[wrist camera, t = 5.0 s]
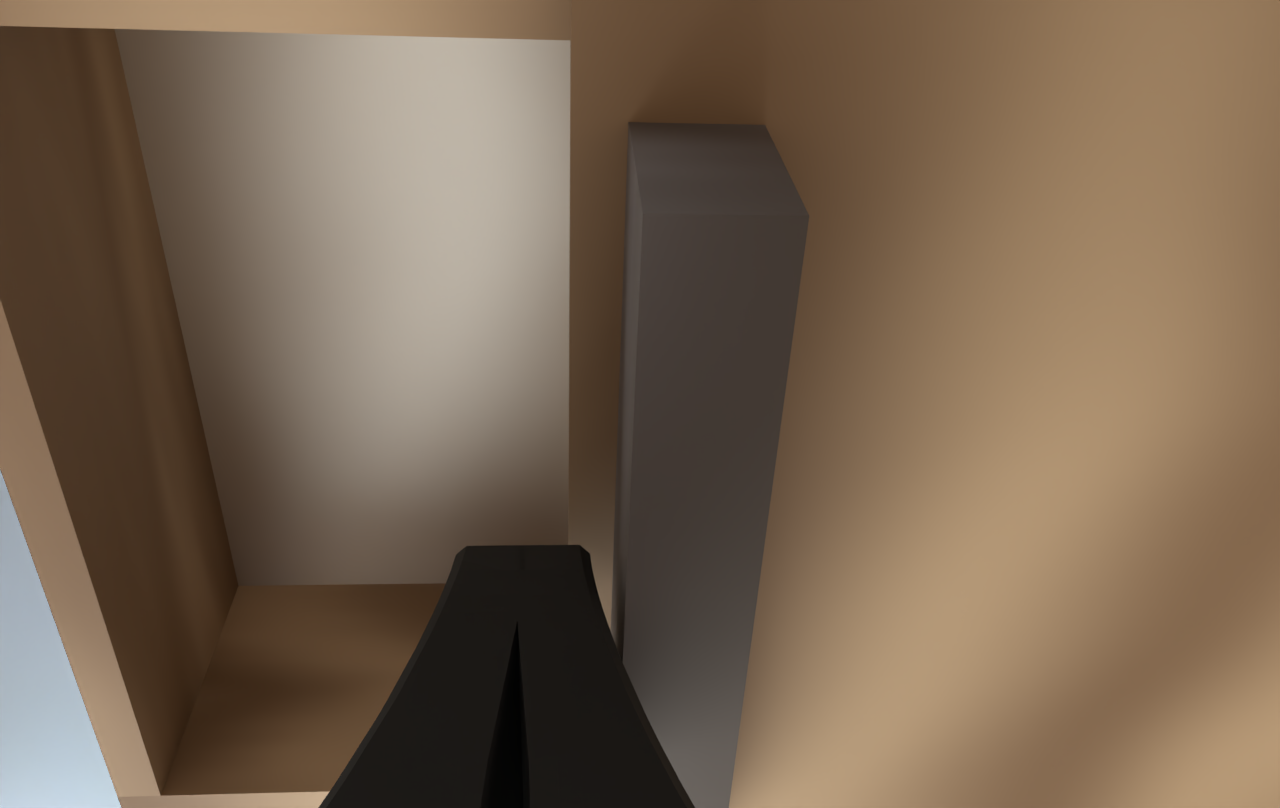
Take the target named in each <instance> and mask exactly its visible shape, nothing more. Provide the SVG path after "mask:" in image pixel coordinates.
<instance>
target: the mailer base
mask: <svg viewBox="0 0 1280 808" xmlns="http://www.w3.org/2000/svg"><path fill="white" fill-rule="evenodd" d="M570 19H571V0H0V470H1V472H2V475H3V478H4V481H5V483H6V486H7V489H8V492H9V495H10V497H11V500H12V503H13V506H14V509H15V511H16V514H17V517H18V520H19V523H20V525H21V528H22V531H23V534H24V537H25V539H26V542H27V545H28V548H29V550H30V553H31V556H32V559H33V562H34V564H35V567H36V570H37V573H38V576H39V578H40V581H41V584H42V587H43V590H44V592H45V595H46V598H47V601H48V604H49V606H50V609H51V612H52V615H53V618H54V620H55V623H56V626H57V629H58V631H59V634H60V637H61V640H62V643H63V645H64V648H65V651H66V654H67V657H68V659H69V662H70V665H71V668H72V671H73V673H74V676H75V679H76V682H77V685H78V687H79V690H80V693H81V696H82V698H83V701H84V704H85V707H86V710H87V712H88V715H89V718H90V721H91V724H92V726H93V729H94V732H95V735H96V738H97V740H98V743H99V746H100V749H101V752H102V754H103V757H104V760H105V763H106V766H107V768H108V771H109V774H110V777H111V779H112V782H113V785H114V788H115V791H116V793H117V796H118V799H119V802H120V805H121V807H122V808H318V807H319V806H320V805H321V803H322V802H323V800H324V799H325V797H326V796H327V795H328V793H329V792H330V790H331V789H332V787H333V786H334V784H335V783H336V781H337V780H338V778H339V777H340V775H341V773H342V772H343V770H344V769H345V767H346V766H347V764H348V762H349V761H350V759H351V758H352V756H353V755H354V753H355V751H356V750H357V748H358V747H359V745H360V743H361V742H362V740H363V739H364V737H365V736H366V734H367V732H368V731H369V729H370V728H371V726H372V725H373V723H374V721H375V720H376V718H377V717H378V715H379V713H380V712H381V710H382V708H383V706H384V705H385V703H386V701H387V699H388V698H389V696H390V694H391V692H392V690H393V689H394V687H395V685H396V683H397V681H398V679H399V678H400V676H401V674H402V672H403V670H404V669H405V667H406V665H407V663H408V661H409V659H410V658H411V656H412V654H413V652H414V650H415V649H416V647H417V645H418V643H419V641H420V639H421V636H422V634H423V632H424V630H425V628H426V626H427V624H428V622H429V620H430V618H431V616H432V614H433V612H434V610H435V607H436V605H437V603H438V601H439V598H440V596H441V594H442V591H443V589H444V587H445V584H446V582H447V579H448V577H449V574H450V571H451V568H452V565H453V562H454V559H455V556H456V554H457V553H458V552H460V551H461V550H462V549H463V548H465V547H466V546H496V545H568V465H569V241H570Z"/></svg>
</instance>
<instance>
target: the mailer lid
mask: <svg viewBox="0 0 1280 808" xmlns="http://www.w3.org/2000/svg"><path fill="white" fill-rule="evenodd" d="M568 545H581V546H582V547H583V548H584V549H585V550H586V551H588V552H589V553H590V556H591V564H592V570H593V574H594V579H595V583H596V587H597V591H598V595H599V598H600V601H601V604H602V608H603V611H604V614H605V617H606V620H607V622H608V625H609V628H610V631H611V634H612V636H613V639H614V642H615V645H616V647H617V650H618V652H619V655H620V657H621V660H622V662H623V665H624V667H625V669H626V671H627V674H628V676H629V678H630V680H631V683H632V685H633V687H634V689H635V691H636V694H637V696H638V698H639V700H640V703H641V705H642V707H643V709H644V712H645V714H646V716H647V718H648V720H649V722H650V724H651V726H652V728H653V730H654V732H655V734H656V736H657V738H658V740H659V742H660V744H661V746H662V748H663V750H664V752H665V754H666V755H667V757H668V759H669V761H670V763H671V765H672V767H673V769H674V771H675V772H676V774H677V776H678V778H679V780H680V782H681V784H682V785H683V787H684V789H685V791H686V792H687V794H688V796H689V798H690V800H691V801H692V803H693V805H694V807H695V808H1280V0H571V19H570V241H569V465H568Z"/></svg>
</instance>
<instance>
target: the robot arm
mask: <svg viewBox="0 0 1280 808" xmlns="http://www.w3.org/2000/svg"><path fill="white" fill-rule="evenodd" d="M318 808H695V807H694V805H693V803H692V801H691V800H690V798H689V796H688V794H687V792H686V791H685V789H684V787H683V785H682V784H681V782H680V780H679V778H678V776H677V774H676V772H675V771H674V769H673V767H672V765H671V763H670V761H669V759H668V757H667V755H666V754H665V752H664V750H663V748H662V746H661V744H660V742H659V740H658V738H657V736H656V734H655V732H654V730H653V728H652V726H651V724H650V722H649V720H648V718H647V716H646V714H645V712H644V709H643V707H642V705H641V703H640V700H639V698H638V696H637V694H636V691H635V689H634V687H633V685H632V683H631V680H630V678H629V676H628V674H627V671H626V669H625V667H624V665H623V662H622V660H621V657H620V655H619V652H618V650H617V647H616V645H615V642H614V639H613V636H612V634H611V631H610V628H609V625H608V622H607V620H606V617H605V614H604V611H603V608H602V604H601V601H600V598H599V595H598V591H597V587H596V583H595V579H594V574H593V570H592V564H591V556H590V553H589V552H588V551H586V550H585V549H584V548H583V547H582V546H581V545H496V546H466V547H465V548H463V549H462V550H461V551H460V552H458V553H457V554H456V556H455V559H454V562H453V565H452V568H451V571H450V574H449V577H448V579H447V582H446V584H445V587H444V589H443V591H442V594H441V596H440V598H439V601H438V603H437V605H436V607H435V610H434V612H433V614H432V616H431V618H430V620H429V622H428V624H427V626H426V628H425V630H424V632H423V634H422V636H421V639H420V641H419V643H418V645H417V647H416V649H415V650H414V652H413V654H412V656H411V658H410V659H409V661H408V663H407V665H406V667H405V669H404V670H403V672H402V674H401V676H400V678H399V679H398V681H397V683H396V685H395V687H394V689H393V690H392V692H391V694H390V696H389V698H388V699H387V701H386V703H385V705H384V706H383V708H382V710H381V712H380V713H379V715H378V717H377V718H376V720H375V721H374V723H373V725H372V726H371V728H370V729H369V731H368V732H367V734H366V736H365V737H364V739H363V740H362V742H361V743H360V745H359V747H358V748H357V750H356V751H355V753H354V755H353V756H352V758H351V759H350V761H349V762H348V764H347V766H346V767H345V769H344V770H343V772H342V773H341V775H340V777H339V778H338V780H337V781H336V783H335V784H334V786H333V787H332V789H331V790H330V792H329V793H328V795H327V796H326V797H325V799H324V800H323V802H322V803H321V805H320V806H319V807H318Z"/></svg>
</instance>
